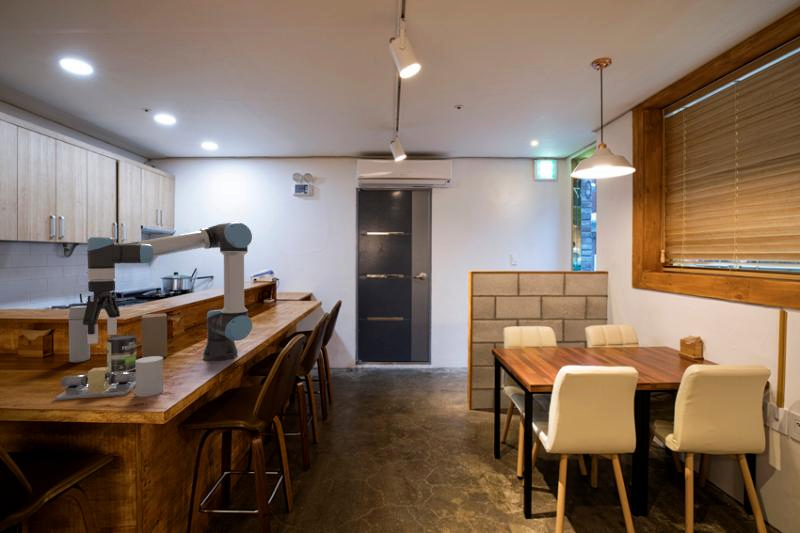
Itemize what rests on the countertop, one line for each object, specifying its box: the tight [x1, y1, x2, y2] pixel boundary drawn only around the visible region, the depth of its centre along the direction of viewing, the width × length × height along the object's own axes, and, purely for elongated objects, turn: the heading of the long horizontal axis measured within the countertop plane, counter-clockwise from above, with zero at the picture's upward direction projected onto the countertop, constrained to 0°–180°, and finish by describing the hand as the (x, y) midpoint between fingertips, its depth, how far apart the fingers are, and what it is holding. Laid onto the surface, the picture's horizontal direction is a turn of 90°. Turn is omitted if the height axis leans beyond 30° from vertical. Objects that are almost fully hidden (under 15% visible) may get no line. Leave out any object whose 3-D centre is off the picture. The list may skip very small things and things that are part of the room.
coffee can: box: [106, 334, 138, 373], centre depth 155 cm, size 10×10×14 cm
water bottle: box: [67, 305, 91, 364], centre depth 167 cm, size 9×8×25 cm
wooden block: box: [141, 312, 168, 358], centre depth 176 cm, size 10×10×20 cm
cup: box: [135, 356, 164, 398], centre depth 130 cm, size 8×8×12 cm
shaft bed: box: [55, 371, 136, 401], centre depth 130 cm, size 21×11×7 cm, turn 105°
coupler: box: [87, 366, 110, 391], centre depth 130 cm, size 5×4×7 cm
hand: (103, 338), depth 131 cm, fingers open, 13 cm apart
